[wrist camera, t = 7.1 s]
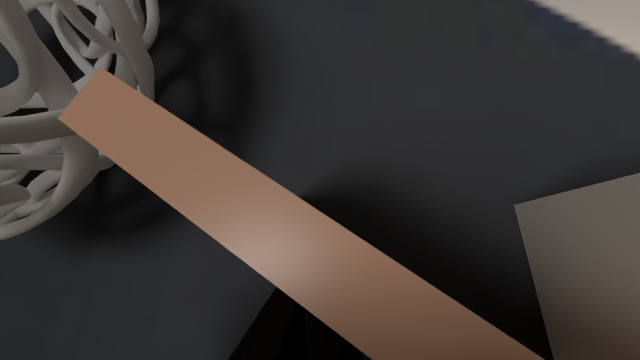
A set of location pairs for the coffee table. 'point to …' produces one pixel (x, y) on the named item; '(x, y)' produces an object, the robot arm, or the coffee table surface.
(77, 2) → the decorative ball
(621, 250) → the beige rectangular box
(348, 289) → the side door
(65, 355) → the coffee table surface
